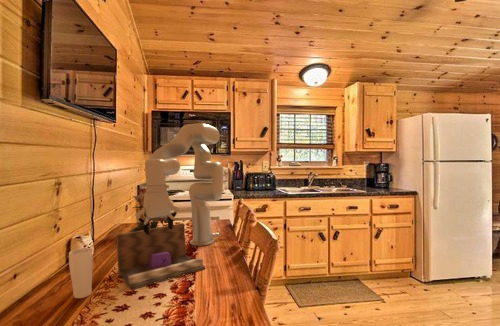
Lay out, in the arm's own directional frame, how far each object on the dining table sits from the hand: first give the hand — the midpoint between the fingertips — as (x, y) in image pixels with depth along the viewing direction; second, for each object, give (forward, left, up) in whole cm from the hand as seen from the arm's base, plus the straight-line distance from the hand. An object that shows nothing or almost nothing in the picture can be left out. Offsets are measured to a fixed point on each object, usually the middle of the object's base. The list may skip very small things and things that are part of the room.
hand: (158, 231), depth 120 cm
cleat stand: (0, +2, -15) cm, 15 cm away
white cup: (+28, +6, -16) cm, 33 cm away
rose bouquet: (-18, -62, -16) cm, 67 cm away
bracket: (+1, +1, -15) cm, 15 cm away
